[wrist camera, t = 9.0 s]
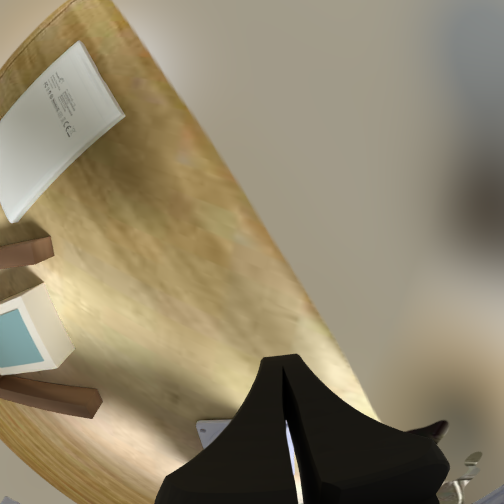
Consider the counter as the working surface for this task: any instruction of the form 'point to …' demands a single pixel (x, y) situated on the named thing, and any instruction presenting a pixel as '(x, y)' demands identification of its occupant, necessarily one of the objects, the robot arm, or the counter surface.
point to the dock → (37, 392)
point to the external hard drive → (52, 128)
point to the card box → (31, 333)
